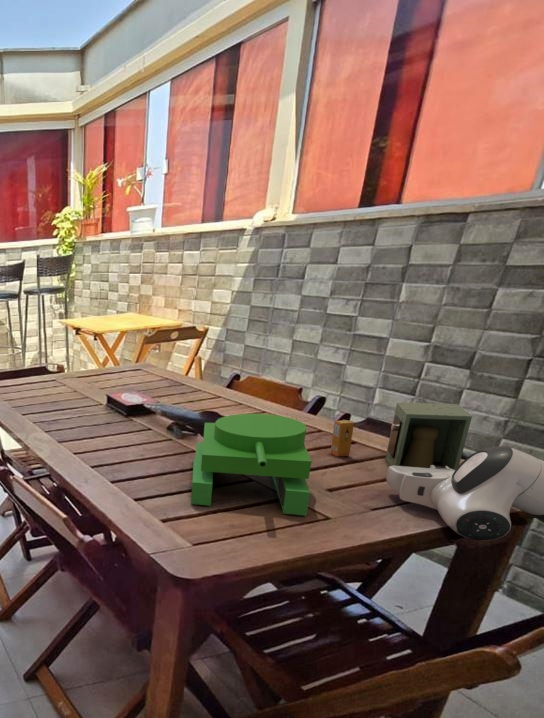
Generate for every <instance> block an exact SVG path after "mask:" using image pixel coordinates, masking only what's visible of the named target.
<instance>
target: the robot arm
mask: <svg viewBox="0 0 544 718" xmlns="http://www.w3.org/2000/svg"><path fill="white" fill-rule="evenodd" d="M385 480H386V482H387V484H388V486H389V487H390V488H391V489H392V490H393V492H396V493H398V494H399V499H400V500H401V501H403V502H408V503H413V504H418V505H421V506H424V507H428V508H430V509H433V510H435V511H436V510H437V512H438V514H439V516H440V517H441V519H442V520H443V521H444V522H445V524H446V525H447V526H448V527H449V528H450V529H451V530H452V531H453V532H455V533H456V534H457V535H459V536H461V537H464V538H466V539H468V540H473V541H483V542H485V541H493V540H494V541H495V540H498V539H500V538H501V539H502V538H503V537H505V536H507V534H509V532H510V531H511V528H512V521H511V516H510V513H511V509H512V507H513V508H515V509H516V510H519V511H522V512H524V513H525V514H526V515H528V516H531V517H532V518H534V519H536V520H538V521H540V522H541V523H544V460H542V459H540V458H538V457H536V456H534V455H532V454H529V453H526V452H524V451H521V450H518V449H516V448H513V447H511V446H508V445H497V446H493V447H488V448H485V449H481V450H479V451H476V452H474V453H472V454H470V455H469V456H467V457H466V458H465V459H464V460H463V461H462V462H460V464H459V466H458V467H457V469H456V470H453V469H450V468H449V467H448V466H443V465H437V464H434V465H430V468H420V467H407V466H403V465H400V466H395V465H393V466H390V465H389V466H388V467H387V469H386V475H385Z"/></svg>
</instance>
